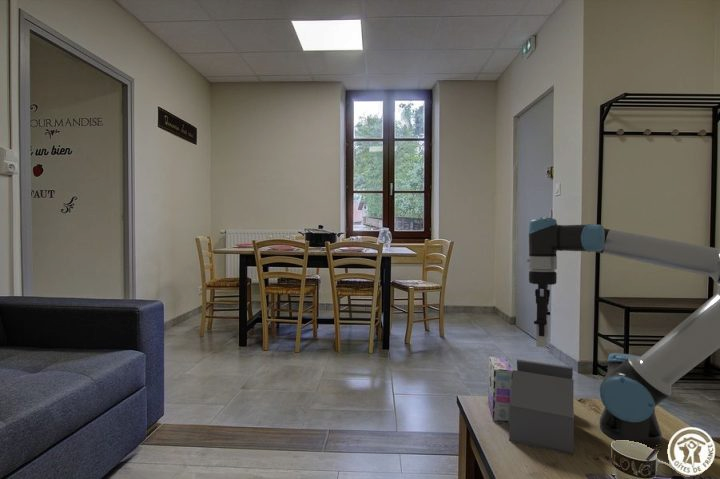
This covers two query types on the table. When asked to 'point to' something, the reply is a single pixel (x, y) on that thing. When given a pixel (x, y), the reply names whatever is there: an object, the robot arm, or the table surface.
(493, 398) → the candy box
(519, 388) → the near flap
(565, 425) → the carton
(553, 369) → the far flap
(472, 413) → the table surface
